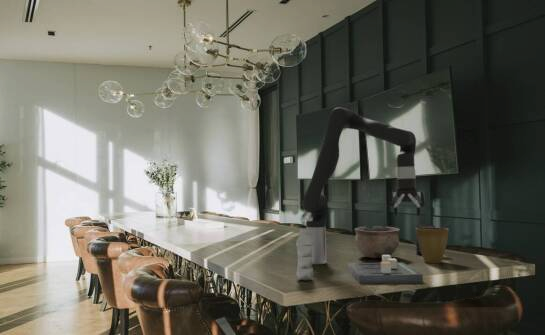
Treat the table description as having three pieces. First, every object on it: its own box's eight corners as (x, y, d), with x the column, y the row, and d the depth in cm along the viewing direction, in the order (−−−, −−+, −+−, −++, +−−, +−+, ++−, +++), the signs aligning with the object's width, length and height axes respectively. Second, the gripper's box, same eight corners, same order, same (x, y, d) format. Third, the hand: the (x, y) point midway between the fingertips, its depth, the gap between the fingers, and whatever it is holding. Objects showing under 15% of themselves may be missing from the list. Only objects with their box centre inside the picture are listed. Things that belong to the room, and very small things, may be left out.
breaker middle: (389, 268, 193) (389, 260, 193) (387, 266, 197) (387, 258, 197) (397, 268, 193) (397, 260, 193) (394, 266, 197) (394, 258, 197)
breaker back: (384, 264, 203) (384, 256, 203) (382, 262, 207) (381, 254, 207) (391, 264, 203) (391, 256, 203) (388, 262, 207) (388, 254, 207)
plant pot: (452, 265, 218) (451, 229, 218) (418, 264, 221) (417, 229, 221) (446, 260, 232) (446, 226, 233) (415, 259, 235) (414, 226, 236)
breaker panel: (359, 283, 181) (359, 275, 181) (347, 270, 209) (347, 262, 209) (422, 282, 181) (422, 274, 181) (402, 269, 209) (402, 262, 209)
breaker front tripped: (383, 273, 183) (382, 263, 183) (380, 271, 187) (380, 261, 187) (391, 273, 183) (390, 263, 183) (388, 271, 187) (388, 261, 187)
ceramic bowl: (396, 254, 251) (395, 226, 252) (403, 261, 230) (402, 230, 230) (353, 254, 254) (353, 226, 254) (356, 261, 232) (356, 230, 232)
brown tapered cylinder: (415, 253, 256) (415, 225, 256) (435, 253, 253) (434, 225, 254) (416, 255, 246) (415, 226, 247) (436, 256, 243) (435, 227, 244)
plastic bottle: (315, 281, 185) (314, 229, 185) (297, 282, 184) (297, 230, 185) (312, 278, 191) (311, 228, 192) (295, 278, 191) (294, 228, 191)
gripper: (387, 178, 200) (388, 217, 200) (423, 177, 195) (424, 217, 194) (390, 178, 207) (391, 215, 207) (424, 177, 202) (426, 215, 201)
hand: (407, 216), depth 200 cm, fingers open, 8 cm apart
